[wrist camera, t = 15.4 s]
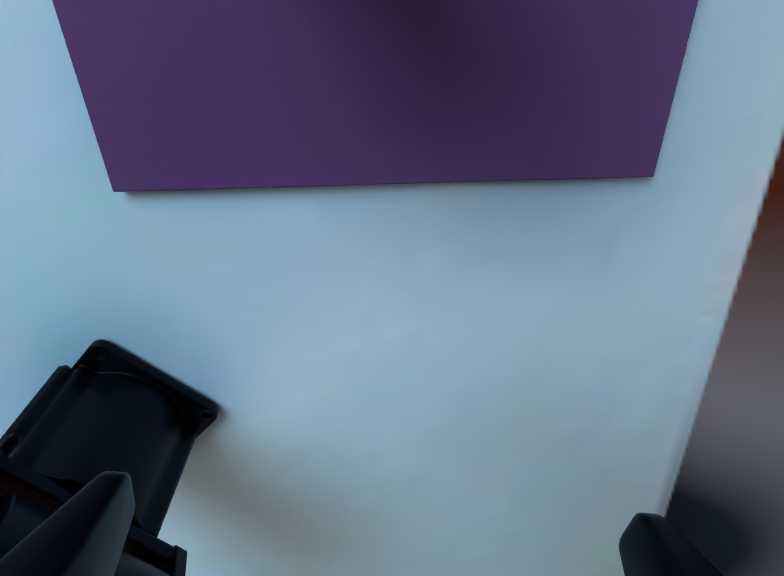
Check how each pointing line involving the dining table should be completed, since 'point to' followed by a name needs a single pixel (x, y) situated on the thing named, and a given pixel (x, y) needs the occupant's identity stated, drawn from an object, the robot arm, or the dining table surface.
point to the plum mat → (374, 89)
